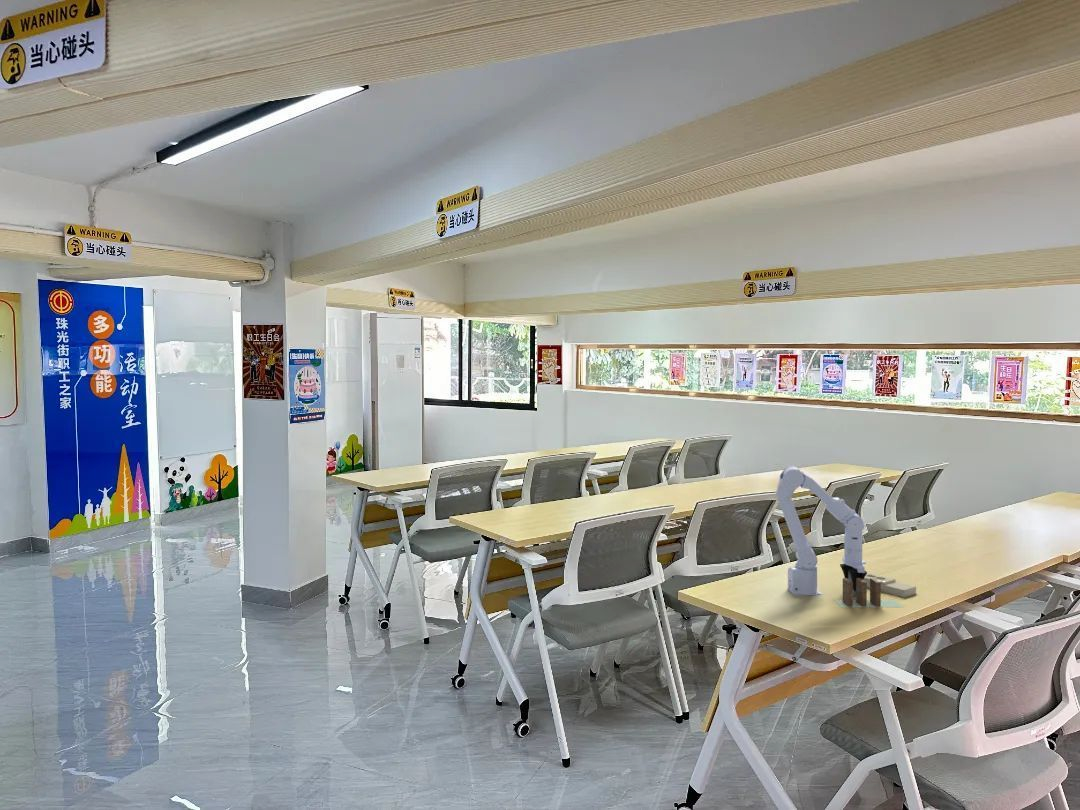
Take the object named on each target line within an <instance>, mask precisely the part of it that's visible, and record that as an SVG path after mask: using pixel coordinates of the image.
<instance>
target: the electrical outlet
mask: <svg viewBox="0 0 1080 810" xmlns="http://www.w3.org/2000/svg"><path fill="white" fill-rule="evenodd" d="M870 578H875V579H877V580H878V581H880V582H881V592H882V593H885V594H886V593H887V594H890V595H894V596H898V597H901V598H906V597H907V598H908V597H910V596H913V595H916V594H917V586H916V585H912V584H911V585H910V584H907V583H903V582H900V581H896V579H895V578H893V577H890V576H889V577H887V576H884V575H881V574H876V573H872V572H867V574H866V576H865V577H864V579H863V580H864V581H865V582H867V589H870Z"/></svg>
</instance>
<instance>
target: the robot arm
mask: <svg viewBox="0 0 1080 810" xmlns="http://www.w3.org/2000/svg"><path fill="white" fill-rule="evenodd" d="M799 487H800V488H801V489H806V490H809V491H810V492H811V493H813V494H814V495H815V496H816V497H818V498H819V499H820V500H821V501H822V502H823V503H824V504H825V506H826V507H825V509H826V511H827V512H829V513H830V514H831V515H832V516H833V517H834V518H835V519H836V520H838V522H840V523H842V524H843V526H844V541H843V542H844V545H843V546H844V552H843V554H844V555H842V562H843V563H841V564H839V566H840V568H841V571H842V573H843V576H844V577H843V578H847V579H848V571H849V573H850V576H851V580H852V582H853V590H854V591H856V578H861V579H864V577H865V576H866V574H867V573H868V571H866V569H865V568H866V567H865V566H864V565H866V564H867V563H866V561H865V560H863V538H864V537H863V530H864V529H865V522H864V520H863V518H861V516H860V515H859V514H858V513H856V512H857V511H856V510H855V509H851V507H849V505H847V504H846V501H845V500H844V499H843V498H840V497H833V496H831V495H830V494H829V493H828V492H827V491H826V490H825V489H824V488H823V486H821V485H820V484H819V483H818V482H817V481H816V480H814V478H813V477H811V476H810V475H808V474H807V473H806V472H804V471H801V469H800V468H798V467H797V466H796V465H795V466H794V465H788V466H785V468H784V469H783V471H782V472H781V473H780V475H779V480H778V484H777V488H776V492H775V496H776V499H777V501H778V503H779V506H780V509H781V512H782V515H783V517H784V520H785V522H786V525H787V528H788V530H789V532H790V533H789V534H790V536H791V538H792V541H793V544H794V547H795V557H796V558H797V561H796V563H795V565H794V566H789V567H788V568H787V587H786V589H787V590H788V591H789V592H790V593H791V594H792V595H793V596H821V595H822V592H820V591H819V590H818V556H817V555H816V554H815V551H814V549H813V547H811V546H810V544H809V541H808V539H807V536H806V533H805V531H804V529H803V526H802V523H801V520H800V517H799V515H798V512H797V509H796V507H795V504H794V502H793V499H792V496H793V495H794V493H795V491H796V490H797V489H798V488H799Z"/></svg>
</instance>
